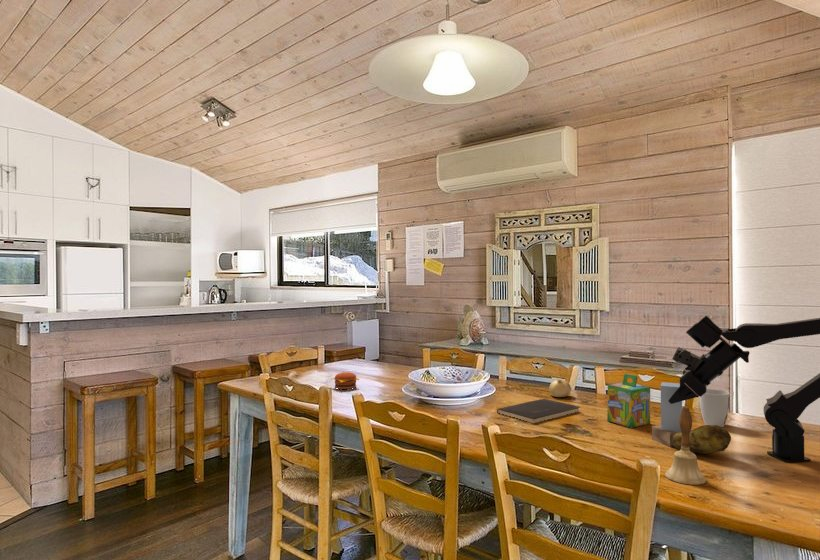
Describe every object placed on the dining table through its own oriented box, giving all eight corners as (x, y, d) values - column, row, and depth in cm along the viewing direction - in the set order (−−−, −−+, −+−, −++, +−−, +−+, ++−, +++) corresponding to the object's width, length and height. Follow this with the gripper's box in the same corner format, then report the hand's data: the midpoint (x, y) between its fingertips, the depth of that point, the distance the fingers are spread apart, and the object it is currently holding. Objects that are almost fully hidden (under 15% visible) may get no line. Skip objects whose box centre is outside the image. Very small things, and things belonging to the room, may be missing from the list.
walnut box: (692, 446, 140) (692, 431, 140) (670, 448, 139) (669, 433, 138) (673, 438, 147) (673, 424, 147) (652, 440, 145) (651, 426, 145)
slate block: (682, 427, 144) (682, 383, 143) (681, 432, 139) (681, 387, 139) (662, 425, 146) (661, 382, 146) (660, 429, 142) (660, 385, 141)
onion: (545, 395, 202) (545, 376, 202) (565, 393, 203) (564, 375, 203) (555, 399, 194) (554, 380, 194) (575, 398, 195) (574, 379, 195)
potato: (689, 444, 140) (688, 415, 140) (737, 459, 129) (736, 427, 129) (667, 449, 137) (667, 419, 137) (715, 465, 125) (714, 431, 125)
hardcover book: (580, 413, 176) (580, 406, 176) (533, 425, 163) (533, 418, 163) (542, 404, 189) (542, 398, 189) (496, 415, 176) (496, 408, 176)
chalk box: (606, 421, 164) (605, 374, 164) (625, 417, 168) (625, 371, 168) (632, 428, 156) (631, 379, 156) (651, 424, 160) (651, 375, 160)
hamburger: (342, 391, 214) (342, 375, 214) (330, 388, 221) (329, 372, 221) (361, 388, 220) (361, 372, 220) (349, 384, 227) (348, 369, 227)
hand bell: (692, 470, 122) (691, 402, 122) (715, 484, 114) (713, 411, 114) (657, 471, 122) (656, 403, 122) (677, 485, 113) (676, 412, 113)
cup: (734, 429, 153) (734, 395, 153) (704, 428, 155) (704, 394, 155) (724, 421, 161) (723, 389, 161) (695, 420, 163) (694, 388, 163)
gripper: (693, 334, 148) (651, 370, 154) (689, 342, 132) (643, 382, 138) (727, 364, 144) (682, 400, 149) (727, 375, 128) (677, 415, 133)
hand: (671, 398), depth 143 cm, fingers open, 9 cm apart
